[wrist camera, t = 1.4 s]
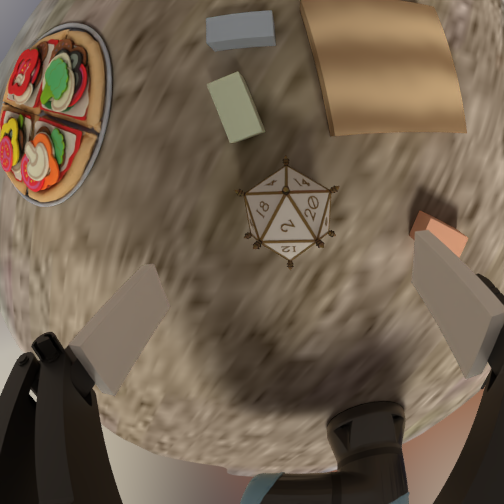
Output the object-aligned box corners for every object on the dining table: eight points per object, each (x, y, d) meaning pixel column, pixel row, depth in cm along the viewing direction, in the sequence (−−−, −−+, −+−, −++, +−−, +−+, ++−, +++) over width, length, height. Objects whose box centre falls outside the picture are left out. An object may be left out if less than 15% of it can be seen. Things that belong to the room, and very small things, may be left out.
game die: (281, 179, 29) (272, 120, 20) (348, 220, 27) (369, 172, 17) (232, 243, 28) (198, 206, 19) (299, 291, 26) (300, 276, 17)
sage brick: (265, 132, 24) (262, 131, 22) (236, 142, 25) (229, 143, 22) (243, 78, 22) (237, 71, 19) (215, 89, 23) (206, 84, 20)
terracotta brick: (455, 228, 25) (468, 237, 22) (445, 251, 26) (456, 262, 23) (418, 209, 25) (431, 217, 22) (408, 234, 26) (419, 244, 23)
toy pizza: (31, 29, 19) (14, 26, 15) (151, 27, 20) (132, 15, 16) (-3, 175, 31) (-20, 181, 27) (89, 233, 32) (69, 245, 28)
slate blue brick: (274, 22, 19) (271, 10, 16) (276, 46, 20) (273, 36, 18) (214, 28, 20) (206, 18, 17) (215, 51, 21) (206, 43, 19)
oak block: (451, 132, 20) (466, 133, 18) (330, 136, 23) (335, 136, 21) (423, 15, 15) (433, 6, 12) (299, 10, 18) (300, -2, 15)
